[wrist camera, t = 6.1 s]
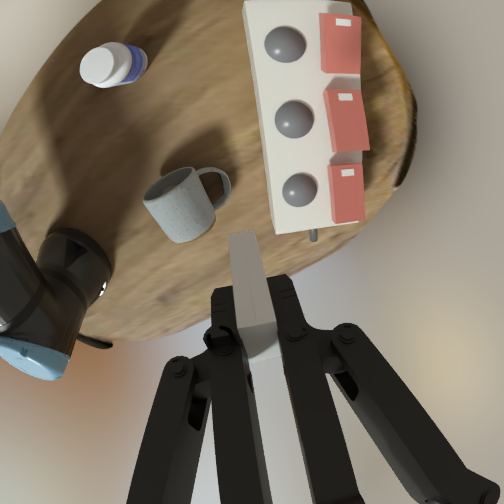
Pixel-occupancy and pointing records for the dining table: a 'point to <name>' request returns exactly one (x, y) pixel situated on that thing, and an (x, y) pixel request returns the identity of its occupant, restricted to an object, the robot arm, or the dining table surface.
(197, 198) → the ceramic mug
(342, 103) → the block
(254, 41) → the switch panel
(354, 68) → the block
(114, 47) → the pill bottle
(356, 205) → the block
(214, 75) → the dining table surface
